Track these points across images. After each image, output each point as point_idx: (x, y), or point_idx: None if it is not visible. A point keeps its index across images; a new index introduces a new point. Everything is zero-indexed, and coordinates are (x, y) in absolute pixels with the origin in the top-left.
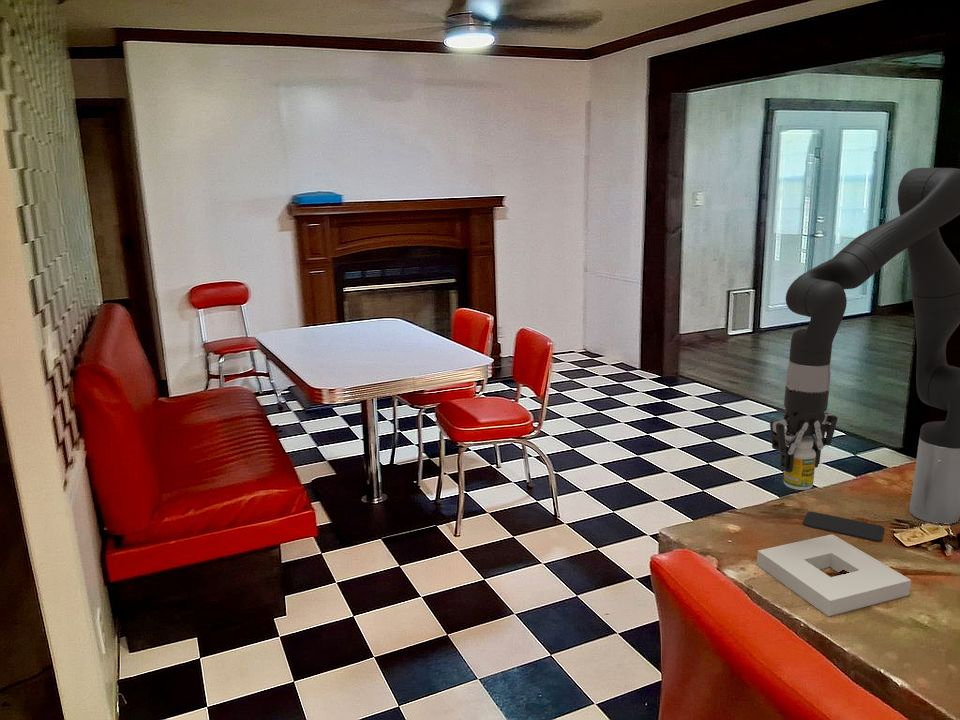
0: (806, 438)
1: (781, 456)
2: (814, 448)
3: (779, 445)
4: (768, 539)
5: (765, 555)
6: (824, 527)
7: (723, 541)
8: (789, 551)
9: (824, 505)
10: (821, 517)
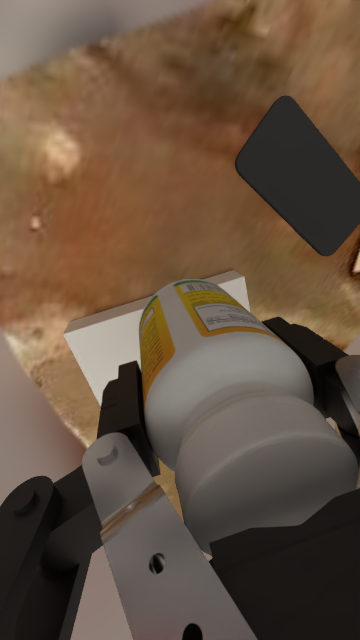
0: (316, 493)
1: (100, 430)
2: (327, 404)
3: (21, 617)
4: (128, 225)
5: (73, 351)
6: (267, 191)
7: (19, 224)
8: (127, 338)
9: (344, 54)
10: (291, 137)
